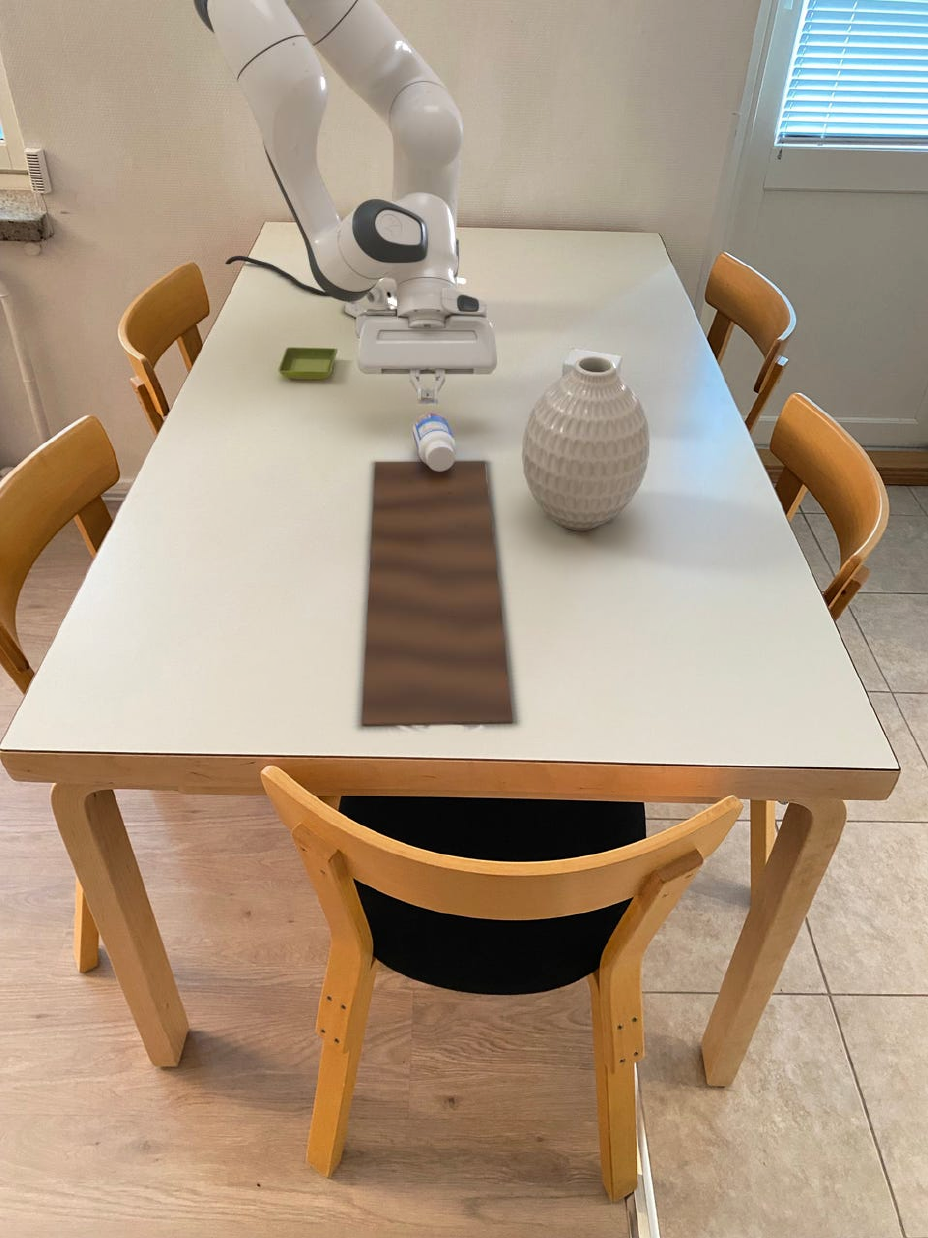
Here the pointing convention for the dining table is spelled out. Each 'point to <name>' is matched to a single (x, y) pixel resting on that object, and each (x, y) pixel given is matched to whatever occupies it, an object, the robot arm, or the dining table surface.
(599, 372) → the vase
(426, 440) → the pill bottle
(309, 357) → the green square tray
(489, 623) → the board
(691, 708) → the dining table surface
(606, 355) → the small box
